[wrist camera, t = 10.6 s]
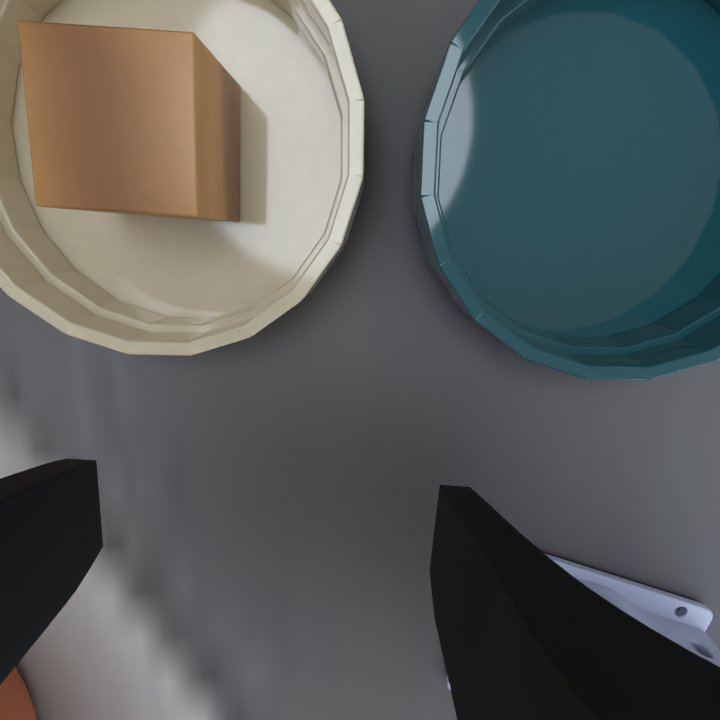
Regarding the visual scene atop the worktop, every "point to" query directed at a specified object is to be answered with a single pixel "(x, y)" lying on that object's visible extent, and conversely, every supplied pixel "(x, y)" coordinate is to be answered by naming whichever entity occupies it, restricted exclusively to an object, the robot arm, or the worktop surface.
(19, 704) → the potted cactus
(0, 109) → the cream bowl
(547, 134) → the teal bowl
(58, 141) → the block
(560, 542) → the worktop surface
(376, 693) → the worktop surface
